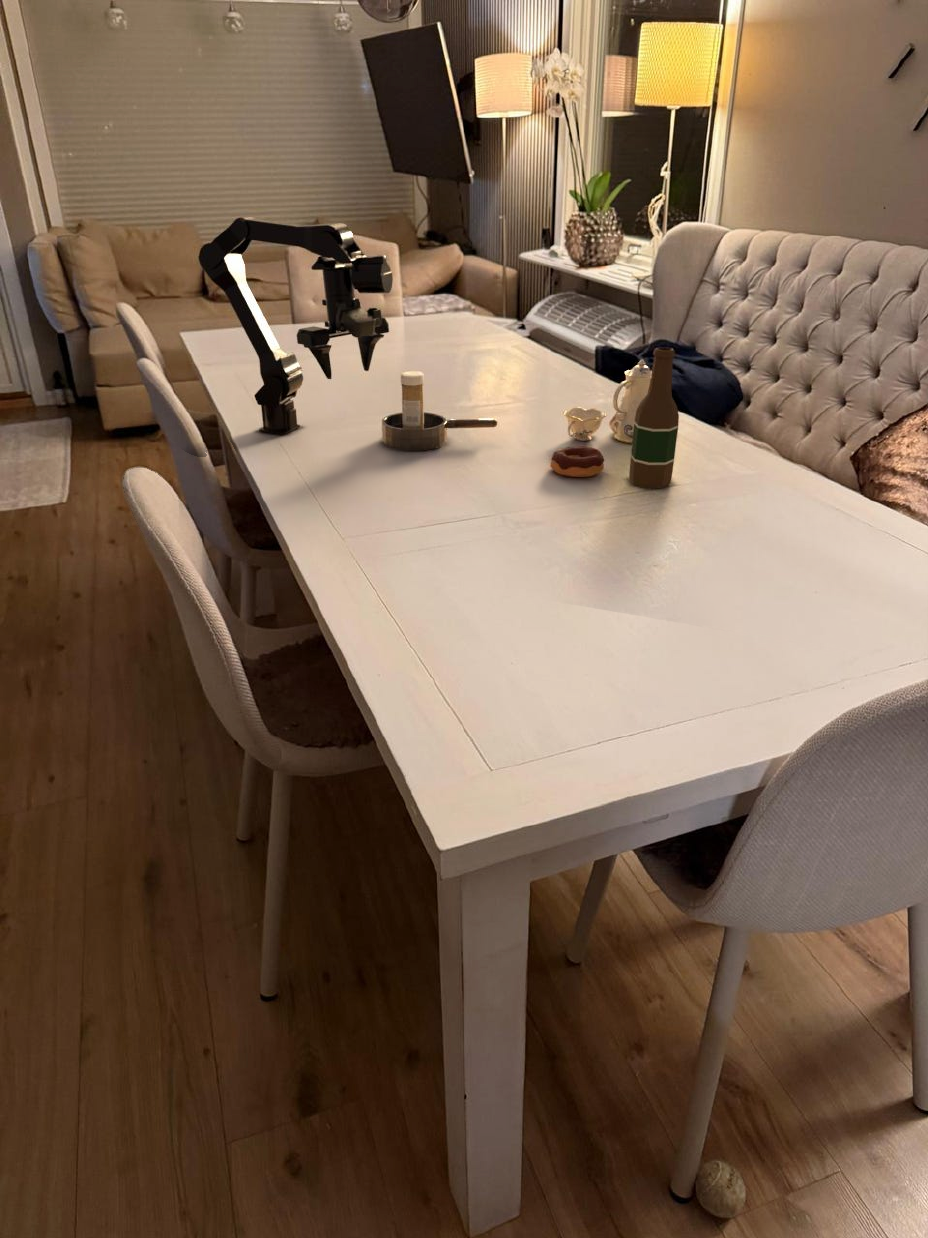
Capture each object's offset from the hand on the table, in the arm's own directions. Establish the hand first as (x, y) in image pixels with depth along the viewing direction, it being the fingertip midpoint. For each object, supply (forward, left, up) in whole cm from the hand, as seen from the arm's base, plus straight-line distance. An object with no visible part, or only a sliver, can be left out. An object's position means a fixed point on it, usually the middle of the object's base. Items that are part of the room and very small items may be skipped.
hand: (348, 374), depth 182 cm
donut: (+50, -1, -13) cm, 51 cm away
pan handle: (+24, +8, -10) cm, 27 cm away
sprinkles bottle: (+13, +2, -13) cm, 18 cm away
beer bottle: (+64, -1, -13) cm, 65 cm away
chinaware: (+52, +26, -13) cm, 59 cm away
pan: (+14, +2, -13) cm, 19 cm away
